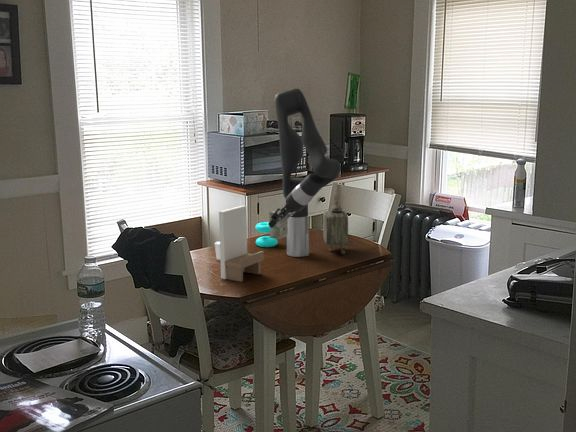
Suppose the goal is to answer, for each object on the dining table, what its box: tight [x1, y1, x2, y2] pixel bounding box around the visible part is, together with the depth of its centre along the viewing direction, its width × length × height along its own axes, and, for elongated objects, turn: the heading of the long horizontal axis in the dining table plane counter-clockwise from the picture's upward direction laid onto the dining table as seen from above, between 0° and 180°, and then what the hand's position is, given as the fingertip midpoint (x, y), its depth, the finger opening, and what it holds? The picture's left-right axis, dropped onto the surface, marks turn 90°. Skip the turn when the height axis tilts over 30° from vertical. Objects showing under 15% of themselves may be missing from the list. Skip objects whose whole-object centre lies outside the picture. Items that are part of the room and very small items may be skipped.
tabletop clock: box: [322, 194, 349, 255], centre depth 275 cm, size 14×9×25 cm, turn 4°
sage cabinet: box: [268, 209, 288, 240], centre depth 244 cm, size 6×6×10 cm
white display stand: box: [218, 205, 265, 283], centre depth 240 cm, size 10×14×26 cm
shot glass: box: [214, 240, 220, 261], centre depth 267 cm, size 7×7×7 cm
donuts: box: [255, 221, 278, 248], centre depth 288 cm, size 10×10×10 cm
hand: (274, 224), depth 245 cm, fingers closed on sage cabinet, 5 cm apart
